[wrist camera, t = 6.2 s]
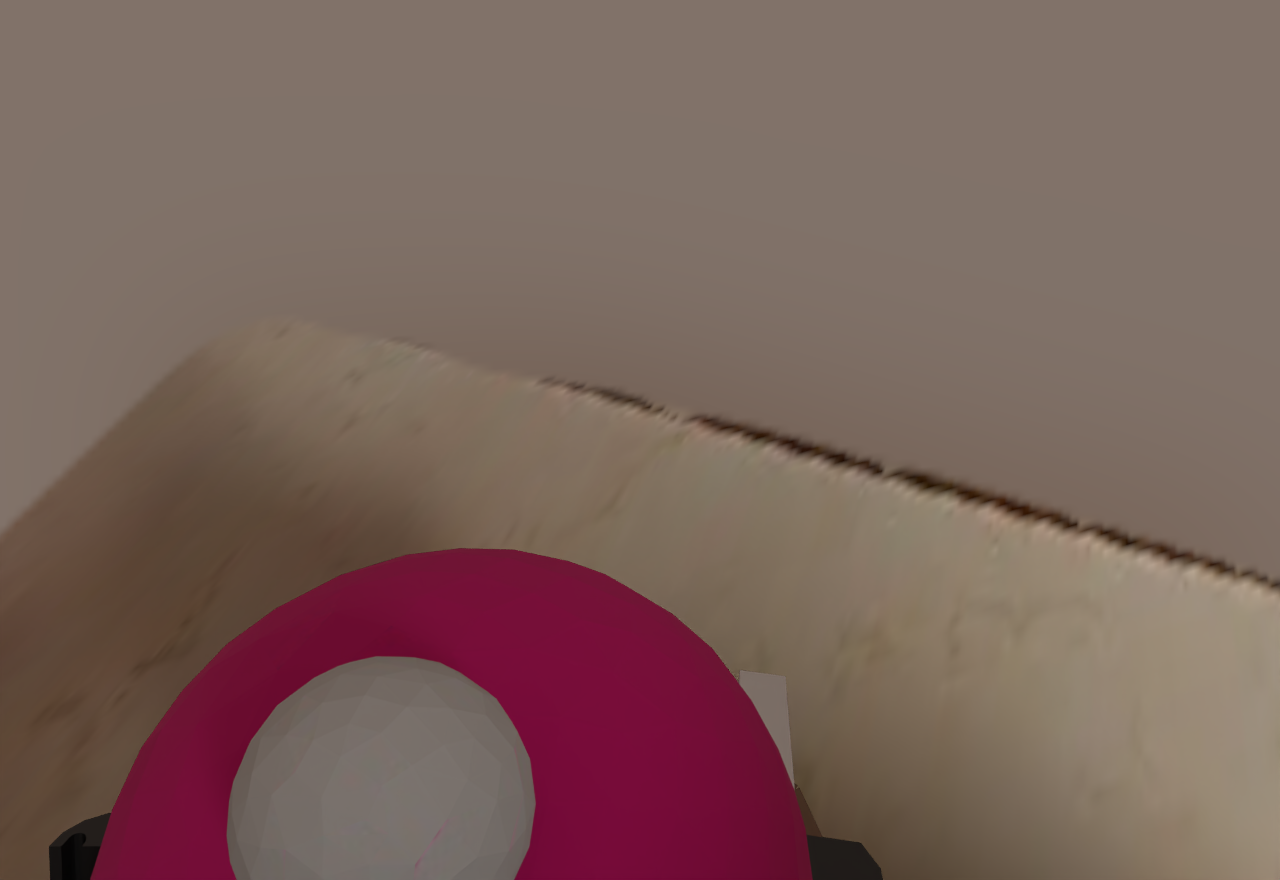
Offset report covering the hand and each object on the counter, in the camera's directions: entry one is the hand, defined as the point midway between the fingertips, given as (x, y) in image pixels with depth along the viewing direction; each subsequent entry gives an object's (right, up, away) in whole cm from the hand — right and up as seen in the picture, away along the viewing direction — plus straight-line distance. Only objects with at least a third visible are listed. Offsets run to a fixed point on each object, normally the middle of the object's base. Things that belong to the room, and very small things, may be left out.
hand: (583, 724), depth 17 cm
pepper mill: (0, -8, +5) cm, 9 cm away
